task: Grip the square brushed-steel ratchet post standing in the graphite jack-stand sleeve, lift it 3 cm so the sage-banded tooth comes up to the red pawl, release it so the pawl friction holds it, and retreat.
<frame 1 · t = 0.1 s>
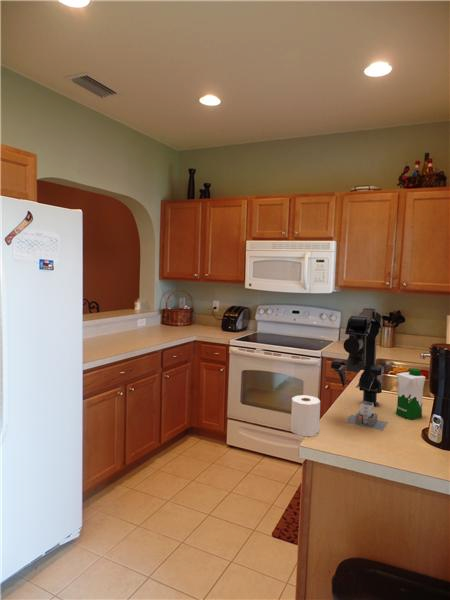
hand: (355, 388, 154), 14 cm above the worktop, fingers open, 9 cm apart
toilet paper: (304, 431, 149), on the worktop
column: (366, 413, 155), point 5 cm above the worktop, slide at 0.0 cm, touching stand
stand: (366, 424, 156), on the worktop
milk carton: (408, 418, 164), on the worktop
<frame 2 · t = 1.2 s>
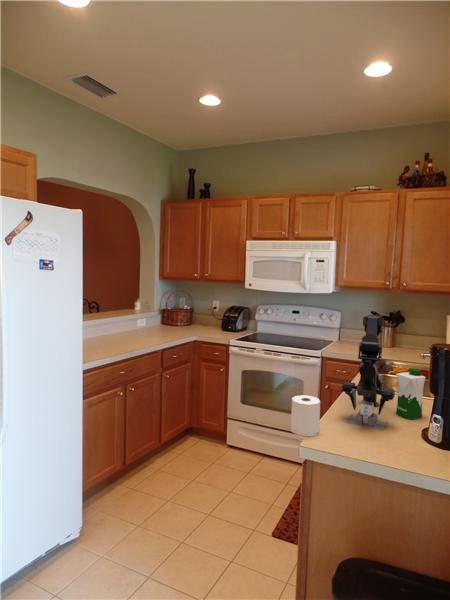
hand: (366, 411, 156), 5 cm above the worktop, fingers open, 9 cm apart
nothing on the worktop moved.
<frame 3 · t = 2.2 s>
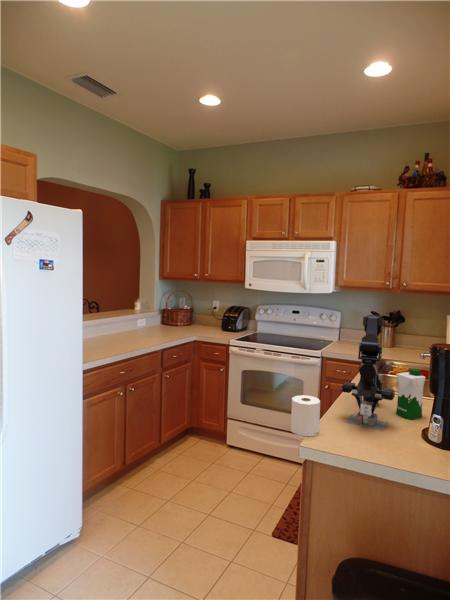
hand: (366, 412, 156), 5 cm above the worktop, fingers closed on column, 4 cm apart
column: (366, 413, 155), point 5 cm above the worktop, slide at 0.0 cm, touching gripper, stand
everything else where it was.
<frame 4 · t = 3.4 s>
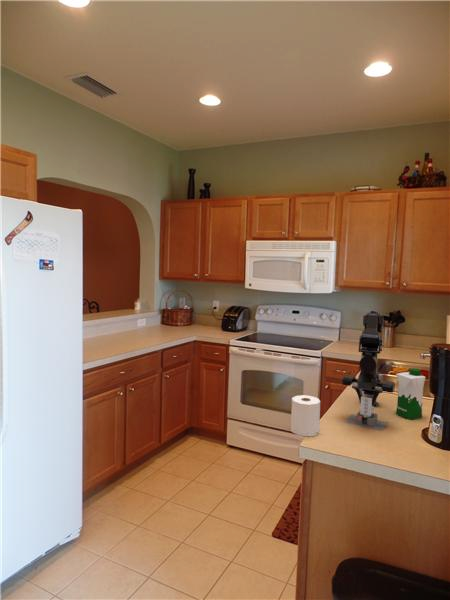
hand: (367, 405, 155), 8 cm above the worktop, fingers closed on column, 4 cm apart
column: (366, 405, 155), point 8 cm above the worktop, slide at 2.9 cm, touching gripper
everything else where it was.
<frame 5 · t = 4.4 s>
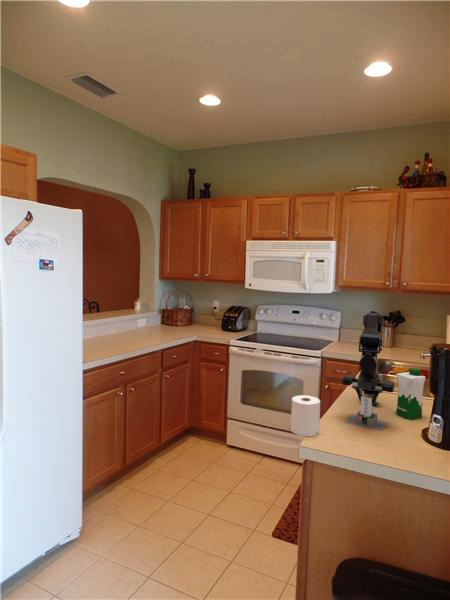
hand: (367, 404, 155), 8 cm above the worktop, fingers closed on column, 4 cm apart
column: (366, 405, 155), point 8 cm above the worktop, slide at 2.9 cm, touching gripper
everything else where it was.
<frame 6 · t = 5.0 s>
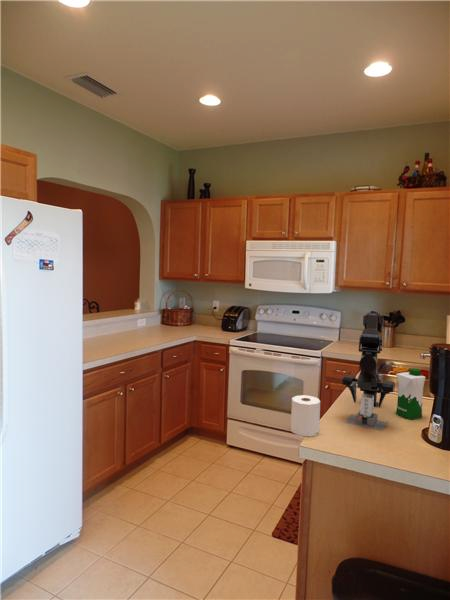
hand: (367, 404, 155), 8 cm above the worktop, fingers open, 9 cm apart
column: (366, 405, 155), point 8 cm above the worktop, slide at 2.9 cm
everything else where it was.
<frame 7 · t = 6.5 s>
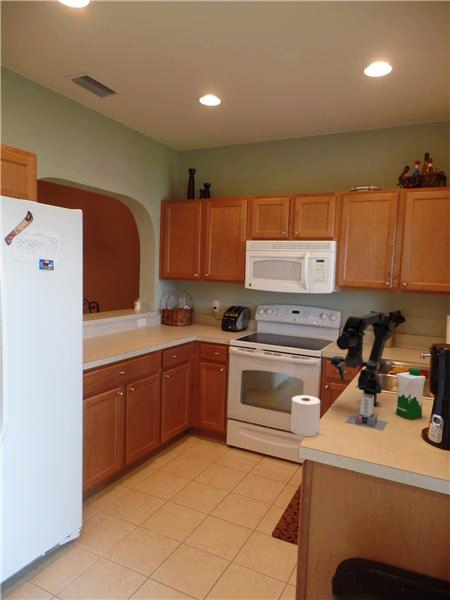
hand: (353, 383, 168), 12 cm above the worktop, fingers open, 9 cm apart
nothing on the worktop moved.
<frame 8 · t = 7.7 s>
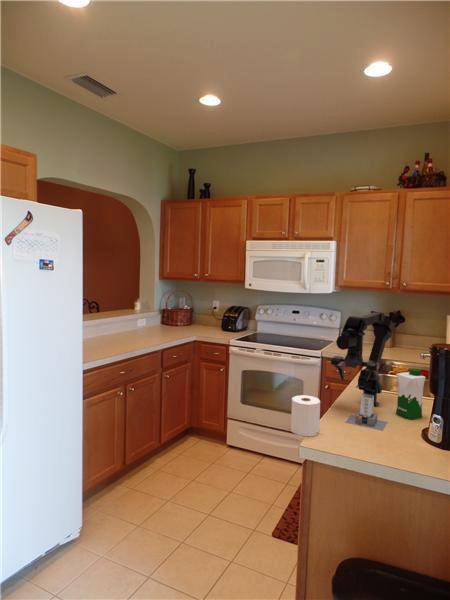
hand: (353, 383, 168), 13 cm above the worktop, fingers open, 9 cm apart
nothing on the worktop moved.
at the end: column slide at 2.9 cm; the gripper is holding nothing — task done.
